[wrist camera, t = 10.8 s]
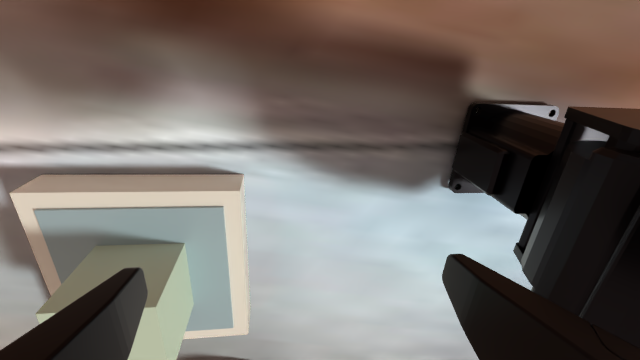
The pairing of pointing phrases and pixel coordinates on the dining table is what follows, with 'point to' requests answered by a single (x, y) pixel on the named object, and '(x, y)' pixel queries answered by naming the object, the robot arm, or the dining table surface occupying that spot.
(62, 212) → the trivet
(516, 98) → the dining table surface
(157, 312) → the cube
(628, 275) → the robot arm
